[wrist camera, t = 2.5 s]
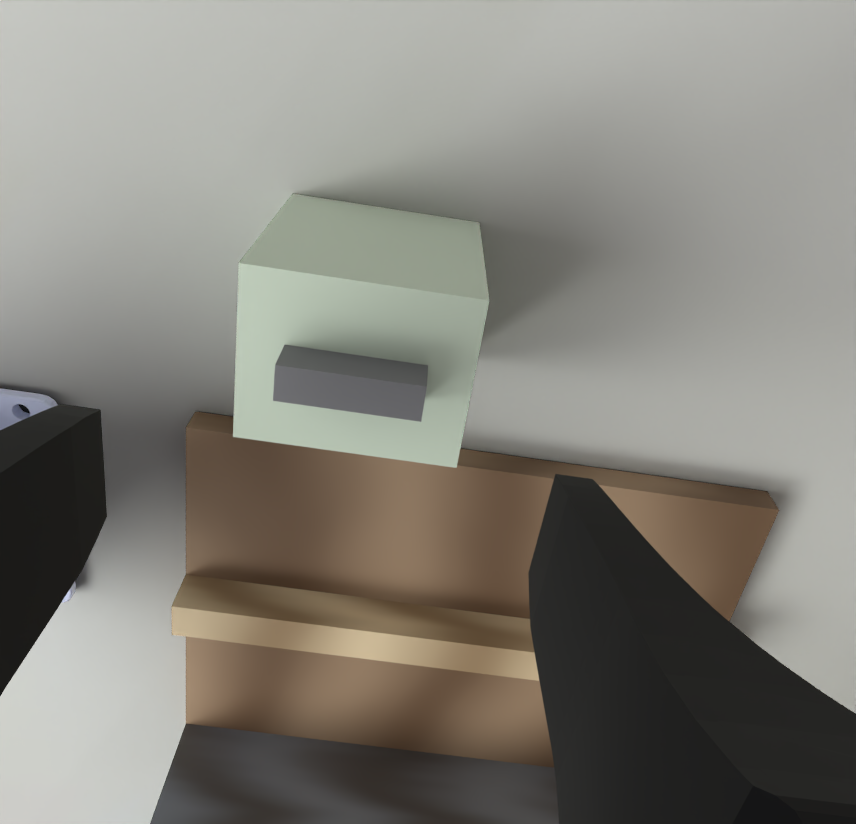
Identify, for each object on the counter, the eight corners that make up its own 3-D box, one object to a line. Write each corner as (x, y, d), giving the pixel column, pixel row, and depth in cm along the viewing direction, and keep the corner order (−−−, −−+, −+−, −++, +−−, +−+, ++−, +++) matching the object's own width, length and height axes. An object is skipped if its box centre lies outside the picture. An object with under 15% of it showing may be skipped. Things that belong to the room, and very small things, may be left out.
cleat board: (193, 722, 30) (139, 877, 25) (195, 411, 24) (122, 532, 18) (643, 777, 31) (683, 937, 26) (767, 491, 25) (854, 628, 19)
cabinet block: (283, 332, 22) (221, 460, 16) (292, 193, 21) (225, 279, 14) (454, 357, 23) (456, 493, 16) (479, 222, 21) (492, 318, 15)
